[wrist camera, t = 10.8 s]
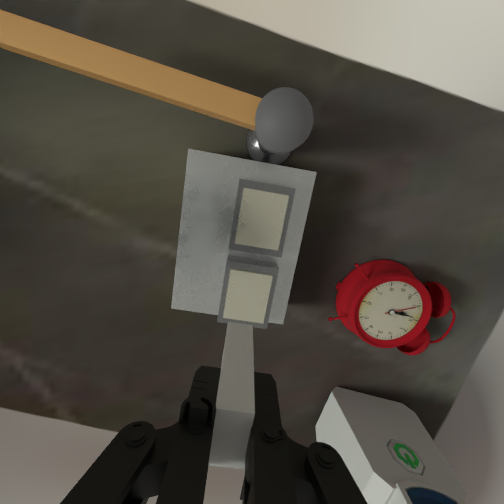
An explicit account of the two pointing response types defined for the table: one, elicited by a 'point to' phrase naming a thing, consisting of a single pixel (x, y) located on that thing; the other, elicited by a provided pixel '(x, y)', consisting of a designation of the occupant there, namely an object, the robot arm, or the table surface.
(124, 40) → the table surface
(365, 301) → the alarm clock
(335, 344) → the table surface
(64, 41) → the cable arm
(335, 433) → the electronic device
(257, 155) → the grey boxy piece
